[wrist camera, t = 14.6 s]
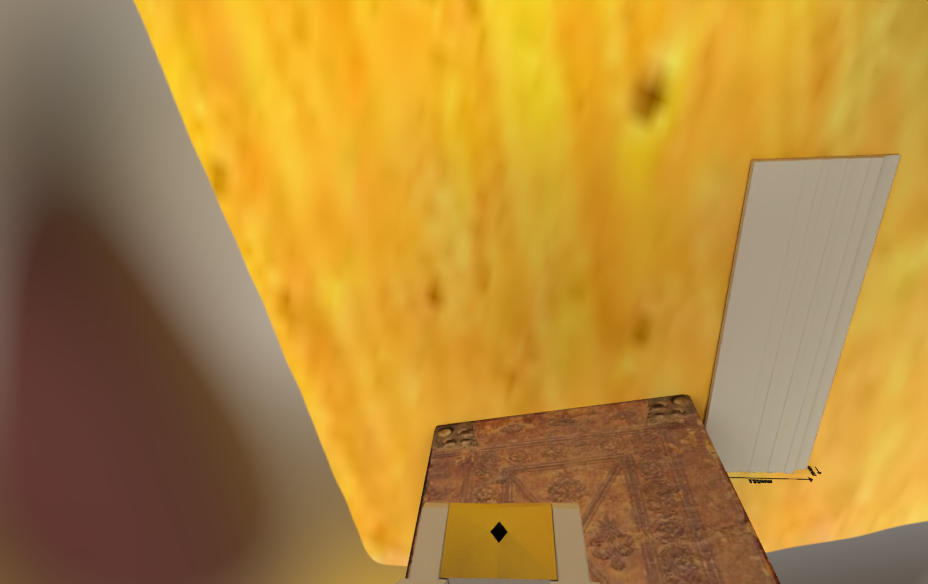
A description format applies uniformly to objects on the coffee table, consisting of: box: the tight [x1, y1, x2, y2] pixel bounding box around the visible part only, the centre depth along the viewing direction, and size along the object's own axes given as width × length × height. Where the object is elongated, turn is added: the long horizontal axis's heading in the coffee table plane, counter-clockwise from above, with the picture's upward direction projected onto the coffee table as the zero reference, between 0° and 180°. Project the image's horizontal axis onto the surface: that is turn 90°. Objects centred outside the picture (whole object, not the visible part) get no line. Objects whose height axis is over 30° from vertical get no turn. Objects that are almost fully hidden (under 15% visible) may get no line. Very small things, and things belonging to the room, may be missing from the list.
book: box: [405, 395, 780, 584], centre depth 41 cm, size 25×9×30 cm, turn 103°
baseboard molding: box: [704, 154, 901, 484], centre depth 46 cm, size 31×3×12 cm
